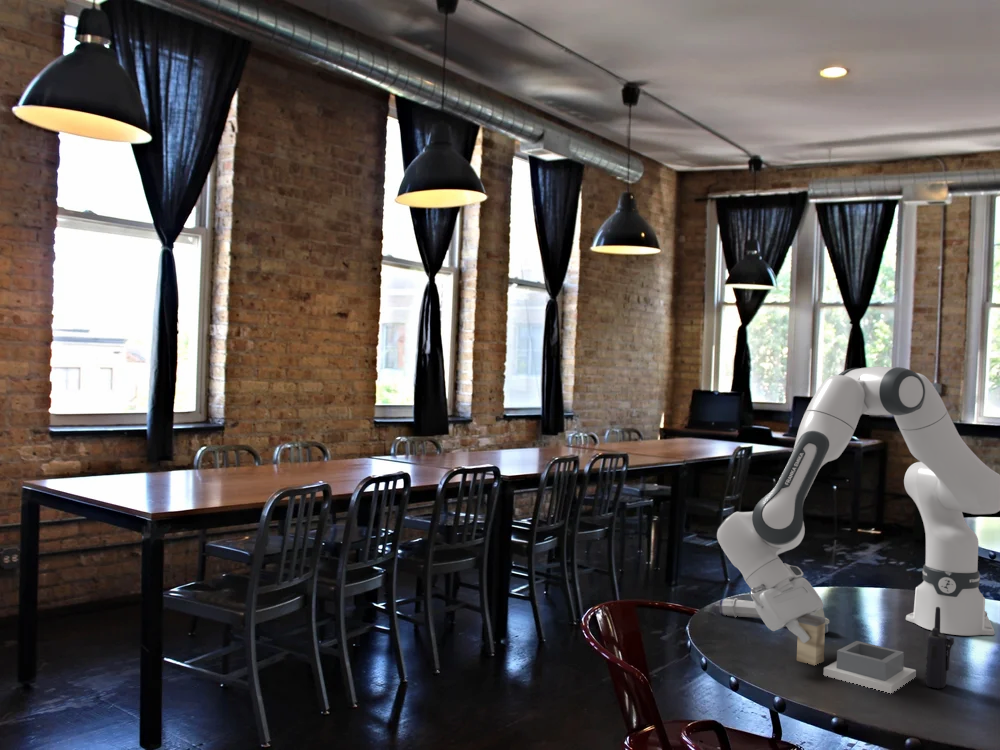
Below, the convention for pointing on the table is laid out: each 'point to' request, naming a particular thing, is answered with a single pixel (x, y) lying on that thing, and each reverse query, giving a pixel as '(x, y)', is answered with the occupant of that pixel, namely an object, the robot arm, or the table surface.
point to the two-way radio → (937, 655)
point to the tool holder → (870, 667)
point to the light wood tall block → (811, 640)
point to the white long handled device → (751, 609)
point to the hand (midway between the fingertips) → (814, 638)
